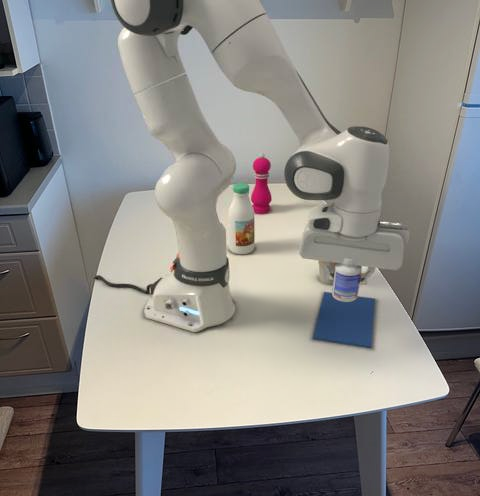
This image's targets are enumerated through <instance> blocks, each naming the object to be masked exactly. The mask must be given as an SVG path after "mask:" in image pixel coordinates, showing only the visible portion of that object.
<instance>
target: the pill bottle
mask: <svg viewBox="0 0 480 496" xmlns="http://www.w3.org/2000/svg"><path fill="white" fill-rule="evenodd" d="M362 269H363V266H357V265H353V259H346V258H345V259H344V262H343V263H336V264H335V270H334V280H333V284H332V290H331V293H332V295H333V297H334V298H335V299H337V300H339V301H343V302H351V301H354V300H355V299H356V298H357V297H358V296H359V290H360V284H359V283H360V277H361V273H362Z"/></svg>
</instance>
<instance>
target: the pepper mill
mask: <svg viewBox="0 0 480 496" xmlns="http://www.w3.org/2000/svg"><path fill="white" fill-rule="evenodd" d="M258 156H259V157H257V158H255V159H254V161H253V163H252V169H253V171H254V173H253V176H254V177H253V178H255V182H254V183H255V184H254V187H253V190H252V191H251V195H250V202H251V204H252V206H253V209H254V214H259V215H264V214H268V213H269V212H271V205H270V204H271V202H272V193H271V191H270V188H269V185H268V184H269V183H268V181H269V180H268V179H269V178H270V172H269V171H270V170H271V167H272V166H271V165H272V164H271V161H270V160H269V159H268V158H267V157H265V154H264V153H263V152H260V153H259V155H258Z"/></svg>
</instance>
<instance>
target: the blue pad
mask: <svg viewBox="0 0 480 496" xmlns="http://www.w3.org/2000/svg"><path fill="white" fill-rule="evenodd" d="M375 306H376V298H373V297H366V296H359V295H358V297H357V298H356V299H355V300H354V301H351V302H343V301H339V300H337V299H335V298H334V297H333V295H332V292H329V291H324V292H323V296H322V300H321V304H320V308H319V312H318V316H317V320H316V324H315V328H314V332H313V336H312V339H313V340H317V341H323V342H328V343H335V344H342V345H347V346H355V347H362V348H369V349H371V348H372V342H373V341H372V340H373V329H374V328H373V327H374V318H375Z"/></svg>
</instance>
